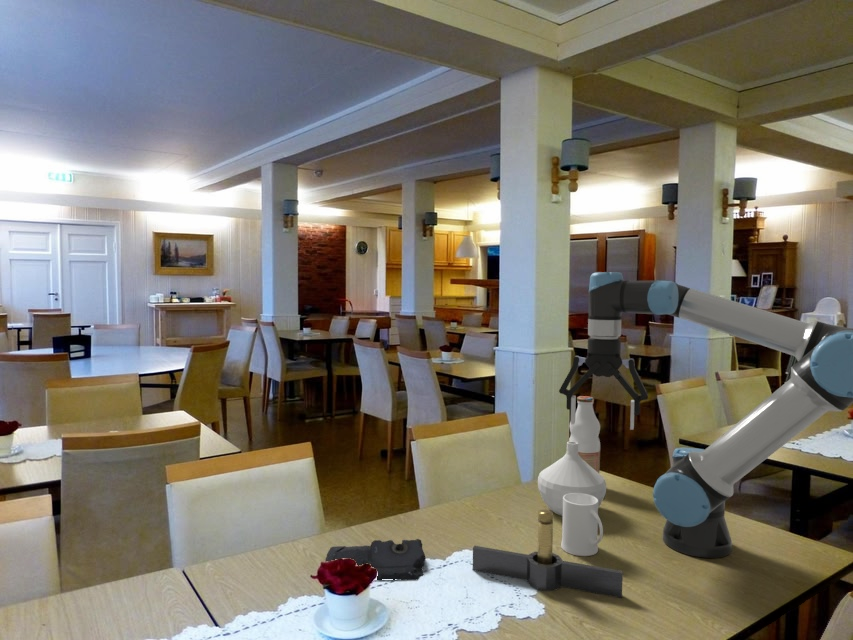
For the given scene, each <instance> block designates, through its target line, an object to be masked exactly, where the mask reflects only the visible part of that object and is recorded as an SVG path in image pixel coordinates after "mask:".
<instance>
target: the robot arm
mask: <svg viewBox="0 0 853 640" xmlns="http://www.w3.org/2000/svg"><path fill="white" fill-rule="evenodd" d="M588 288H589V289H588V318H587V323H588V324H587V335H588V336H589V337H588V339H587V355H586V357H582V356H579V355H575V356H574V357H573V360H572V361H573V362H572V366H571V368H570V370H569V372H568V374H567V375H566V377H565V379H564V381H563V383H562V384H561V386H560V388H559V391H558V393H560V394H561V395H564V396H565V397H566V409H567V410H568V411H569V410H570V421H571V424H574V423H575V413H576V410H577V408H576V403H577V402H576V401H577V396H576V395H574V394H575V392H577V390H578V389H580V387H581V386H582V385H583V384H585V382H586V381H587V380H588V379H589V378H590V377H591V376H592V375H594V376H596V377H605V378H610V377H614V378H615V379H616V380H617V381H618V382H619V384H620V385H621V386H622V387H623V388H624V390H625V391H626V392H627V393H628V395H629V396H630V397H631V398H632V399H631V400H630V423H629V425H630V426H629V431H631V430H634V428H635V416H639V415H640V410H641V409H640V405H641V402H642V401H647V400H648V399H649V394H648V391H647V390H646V388H645V386H644V383H643V381H642V379H641V377H640V375H639V373H638V371H637V369H636V367H635V364H636V363H635V359H634V358H633V357H632V358H628V359H627V358H626V359H622V356H621V349H622V348H621V347H622V345H621V344H622V340H621V339H620V337H621V336H622V313H623V314H629V313H630V314H640V315H641V314H642V315H643V314H646V315H656V316H660V315H663V316H664V315H669V316H672V317H676V318H678V319H682V320H686V321H688V322H691V323H695V324H697V325H700V326H702V327H706V328H709V329H712V330H716V331H719V332H721V333H724V334H727V335H731V336H733V337H736V338H739V339H741V340H745V341H748V342H751V343H753V344H757V345H760V346H763V347H767V348H768V349H771V350H775V351H778V352H781V353H783V354H784V353H785V354H786V355H790V356H794V357H795V359H796V363H794V364H793V365H792V366H791V368H790V379H788V380H787V381H786V382H785V383H784V384H782V385H781V386H780V387H779V388H777V389H776V390H775V391H773V393H772V394H770V395H769V396H767V398H766V399H764V400H763V401H761V403H759V404H758V405H757V406H756V407H754V408H753V409H752V410H751V411H749V412H748V413H747V414H746V415H745V416H744V417H743V418H741V419H740V420H739V421H738V422H736V423H735V424H734V425H733V426H732V427H730V428H729V429H728V430H727V431H726V432H725V433H724V434H722V435H721V436H719V438H717V439H716V440H715V441H714V442H712V443H711V444H710V445H709V446H708V447H706V448H705V449H704V448H697V447H696V448H695V447H682V446H681V447H676V448H675V449H674V450H673V454H672V455H671V456H672V466H671V467H670V468H669V469H668V470H667V471H665V473H664V474H662V475H660V476H659V477H658V478H657V480H656V482H655V484H654V486H653V490H652V499H653V500H652V501H653V503H654V505H655V508H656V509H657V511H658V512H659V514H660V515H661V516H662V517H663V518H664V519H665V520H666V522H665V523H664V526H663V529H662V541H663V543H664V544H665V545H666V546H667V547H669V548H671V549H672V550H674V551H676V552H678V553H682V554H684V555H688V556H693V557H697V558H703V559H704V558H706V559H718V558H723V557H726V556H728V555H730V554H731V553H732V548H733V547H732V544H733V542H732V537H731V534H730V531H729V527H728V524H727V521H726V517H725V512H726V511H725V509H726V501H727V500H728V499H730V498H731V497H732V496H733V495H734V485H735V484H736V483H738V482H739V481H740V480H741V479H742V478H744V476H746V475H747V474H749V473H750V472H751V471H752V470H754V469H755V468H757V466H759V465H760V464H762V463H763V462H764V461H765V460H767V459H768V458H769V457H771V456H772V455H773V454H775V452H777V451H778V450H779V449H781V448H782V447H784V446H785V445H786V444H787V443H788V442H790V441H791V440H793V439H794V438H795V437H796V436H798V435H799V434H800V433H802V432H803V431H804V430H806V429H807V428H809V426H811V425H812V424H813V423H814V422H815V421H817V420H818V419H820V418H821V417H822V416H824V414H826V413H827V412H843V411H844V410H846V409H847V408H848V407H850V406H851V405H852V404H853V328H851V327H844V326H840V325H839V326H838V325H833V324H829V323H825V322H822V321H818V320H815V321H812V322H809V323H808V322H806V321H805V322H804V321H801V320H798V319H796V318H795V319H794V318H792V317H788V316H785V315H781V314H778V313H775V312H772V311H768V310H765V309H761V308H758V307H755V306H752V305H749V304H744V303H742V302H739V301H735V300H731V299H728V298H724V297H721V296H718V295H715V294H711V293H708V292H705V291H701V290H698V289H695V288H690V287H688V286H684V285H682V284H678V283H677V282H676V281H671V280H661V279H657V280H625V279H624V277H623V273H622V272H619V271H618V272H617V271H604V272H602V271H596V272H593V273H592V274H591V275H590V277H589V286H588ZM583 363H584V364H585V365H586V366H587V367H588V370H587V371H586V372H584V374H583V375H582V376H581V377H580V378H579V379H578V381H577V382H575V384H574V385H573V386H572V387H571V388H570V389H568V387H569V385H570V383H571V381H572V379H573V378H574V376H575V374H576V372H577V371H578V368H579V367H580V366H583ZM623 365H624V366H625V368H626V369H628V370H629V373H630V375H631V376H632V380H633V381H634V383H635V385H636V387H637V389H638V391H639V393H640V394H639V393H637V391H636V390H635V389H634V388H633V386H631V385H630V383H629V382H628V381H627V379H626V378H625V376H624V375H623V374H622V372H621V371H620V370H619V369H620V368H621V367H622V366H623Z"/></svg>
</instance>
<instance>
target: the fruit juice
mask: <svg viewBox="0 0 853 640" xmlns="http://www.w3.org/2000/svg"><path fill="white" fill-rule="evenodd" d="M576 401H577V402H576V403H577V408H576V410H575V423H574V424H571V420H570V422H569V431H570V437H569V438H568V442H569V441H573V442H577V443H578V455H579V456H580V457H581V459H583V460H584V461H585V462H586V463H587V464H588V465H589V466H591V467H592V468H593V469H594V470H595V471H597V472H598V473H599V474H600V473H601V469H600V466H601V462H600V460H601V442H600V441H601V440H600V437H599V434H600V431H601V423H600V421H599V420H598V418H597V416H596V413H595V410H594V406H593V404H594V401H595V399H594V397H592V396H587V395H585V396H583V395H579V396H576Z"/></svg>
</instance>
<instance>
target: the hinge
mask: <svg viewBox="0 0 853 640" xmlns="http://www.w3.org/2000/svg"><path fill="white" fill-rule="evenodd" d="M537 562H538V551H533V552H532V553H529V554H526V553H520V552H515V551H514V552H513V551H508V550H503V549H496V548H490V547H486V546H480V545H474V546H473V547H472V571H475V570H476V571H475V572H482V573H485V574H486V573H487V574H491V575H498V576H502V577H508V578H512V579H519V580H523V581H526V582H527V584H528V585H529V586H530V587H532V588H533V589H536V590H538V591H539V590H540V591H545V592H549V591H556V590H558V589H560V588H565V589H572V590H576V591H577V590H578V591H583V592H587V593H592V594H599V595H602V596H603V595H604V596H608V597H614V598H619V599H622V598H623V580H624V579H623V578H624V577H623V573H624V571H623V570H619V569H618V570H617V569H613V568H608V567H607V568H606V567H602V566H595V565H589V564H585V563H584V564H583V563H577V562H573V561H566V560H563V559H562V557H560V555H558V554H556V553H554V552H552V564H550V565H545V564H539V563H537Z"/></svg>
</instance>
